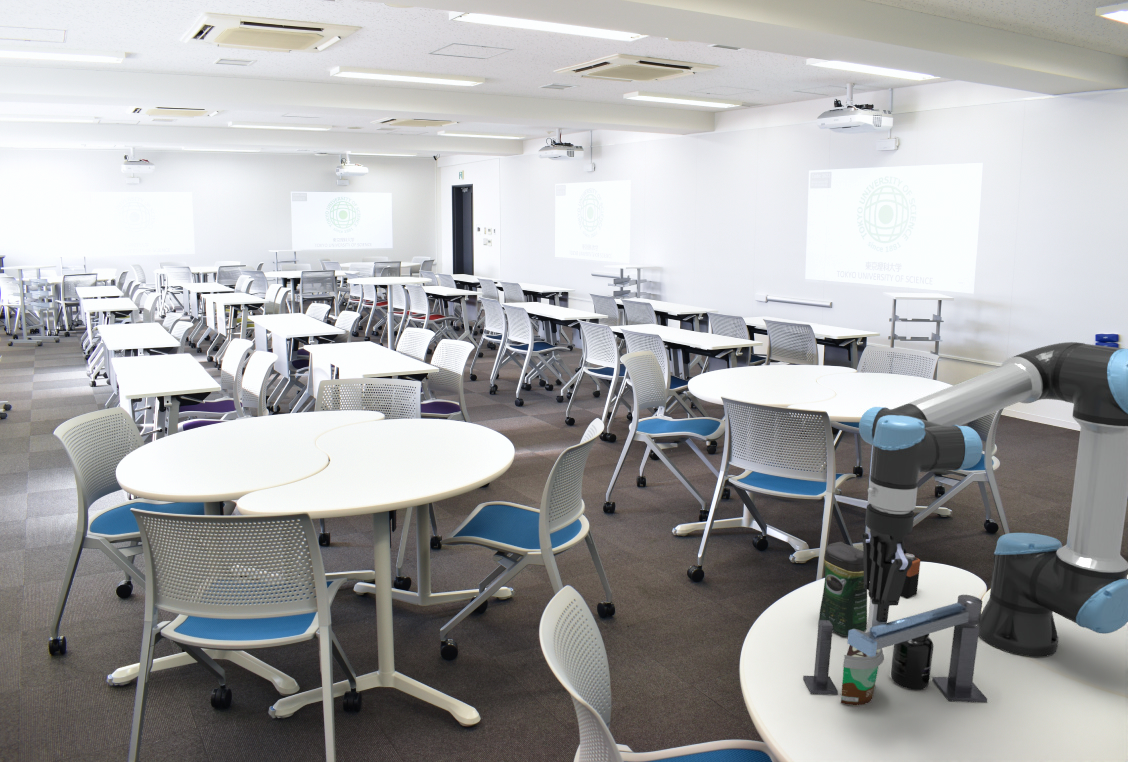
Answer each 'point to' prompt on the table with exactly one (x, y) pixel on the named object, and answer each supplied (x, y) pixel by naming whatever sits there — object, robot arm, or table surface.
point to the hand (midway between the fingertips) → (875, 635)
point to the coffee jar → (844, 589)
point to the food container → (859, 676)
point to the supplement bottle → (912, 663)
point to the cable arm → (917, 625)
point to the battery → (911, 577)
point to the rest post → (822, 663)
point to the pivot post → (961, 667)
